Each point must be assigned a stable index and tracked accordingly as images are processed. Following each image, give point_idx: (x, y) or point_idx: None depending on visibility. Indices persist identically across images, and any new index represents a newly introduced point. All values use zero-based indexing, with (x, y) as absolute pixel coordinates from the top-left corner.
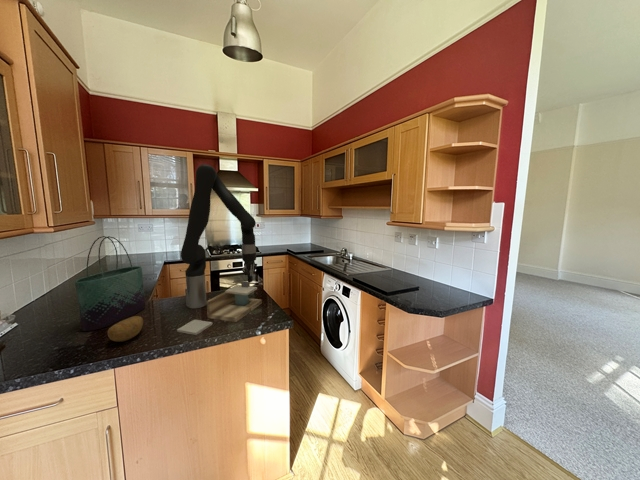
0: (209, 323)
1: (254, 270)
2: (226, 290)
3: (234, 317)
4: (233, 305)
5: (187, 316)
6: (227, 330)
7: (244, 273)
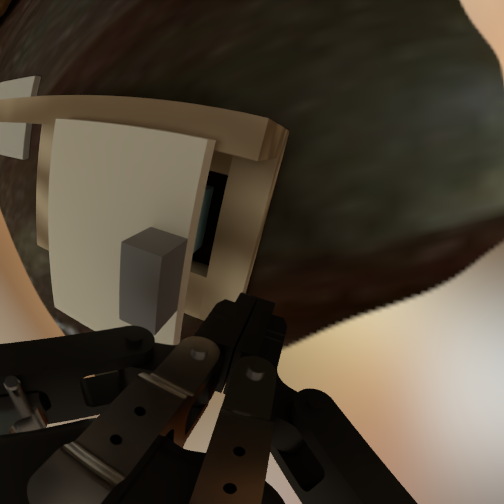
0: (17, 154)
1: (293, 473)
2: (61, 125)
3: (39, 237)
4: None
5: (76, 14)
6: (18, 230)
7: (76, 345)
